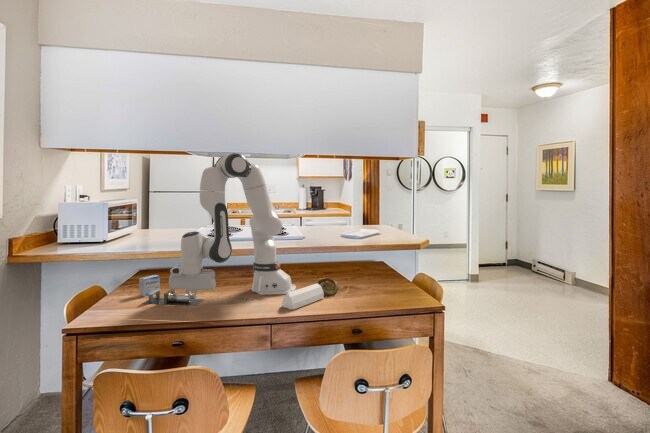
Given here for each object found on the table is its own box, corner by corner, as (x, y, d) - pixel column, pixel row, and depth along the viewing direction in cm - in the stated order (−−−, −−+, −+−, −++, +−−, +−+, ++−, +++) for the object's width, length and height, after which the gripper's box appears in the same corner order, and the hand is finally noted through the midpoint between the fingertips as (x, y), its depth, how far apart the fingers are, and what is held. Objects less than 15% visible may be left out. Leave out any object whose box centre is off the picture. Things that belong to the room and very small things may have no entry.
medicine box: (145, 297, 168) (144, 279, 167) (139, 295, 170) (138, 277, 169) (160, 293, 174) (159, 275, 174) (154, 291, 177) (154, 274, 176)
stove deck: (204, 300, 164) (204, 289, 164) (196, 306, 156) (196, 295, 155) (152, 298, 166) (152, 287, 166) (141, 304, 158) (141, 293, 157)
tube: (191, 300, 162) (191, 293, 162) (188, 303, 159) (188, 295, 159) (168, 300, 163) (167, 292, 163) (164, 302, 160) (164, 295, 159)
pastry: (319, 297, 171) (319, 281, 170) (309, 290, 182) (309, 275, 181) (345, 293, 177) (345, 278, 176) (333, 287, 188) (333, 272, 187)
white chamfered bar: (293, 304, 150) (329, 291, 168) (283, 292, 153) (319, 281, 172) (287, 316, 153) (323, 302, 171) (277, 305, 156) (313, 292, 175)
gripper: (217, 267, 161) (218, 297, 163) (173, 266, 163) (174, 295, 164) (212, 270, 155) (212, 302, 156) (166, 269, 156) (167, 300, 158)
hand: (192, 298), depth 160 cm, fingers closed
